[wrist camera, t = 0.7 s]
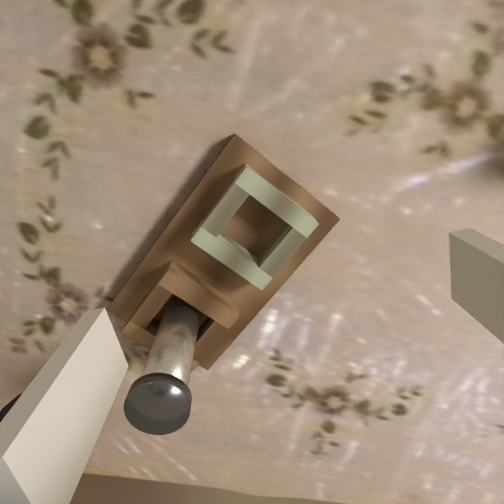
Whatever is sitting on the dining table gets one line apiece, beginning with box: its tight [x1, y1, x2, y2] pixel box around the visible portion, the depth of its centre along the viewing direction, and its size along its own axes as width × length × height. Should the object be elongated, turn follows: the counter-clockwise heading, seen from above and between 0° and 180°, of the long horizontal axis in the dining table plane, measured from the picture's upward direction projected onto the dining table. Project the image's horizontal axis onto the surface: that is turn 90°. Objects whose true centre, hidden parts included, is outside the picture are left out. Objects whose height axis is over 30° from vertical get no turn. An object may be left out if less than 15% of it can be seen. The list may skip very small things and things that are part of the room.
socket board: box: [107, 134, 340, 374], centre depth 41 cm, size 14×24×5 cm, turn 142°
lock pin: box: [124, 296, 201, 435], centre depth 36 cm, size 5×5×15 cm
